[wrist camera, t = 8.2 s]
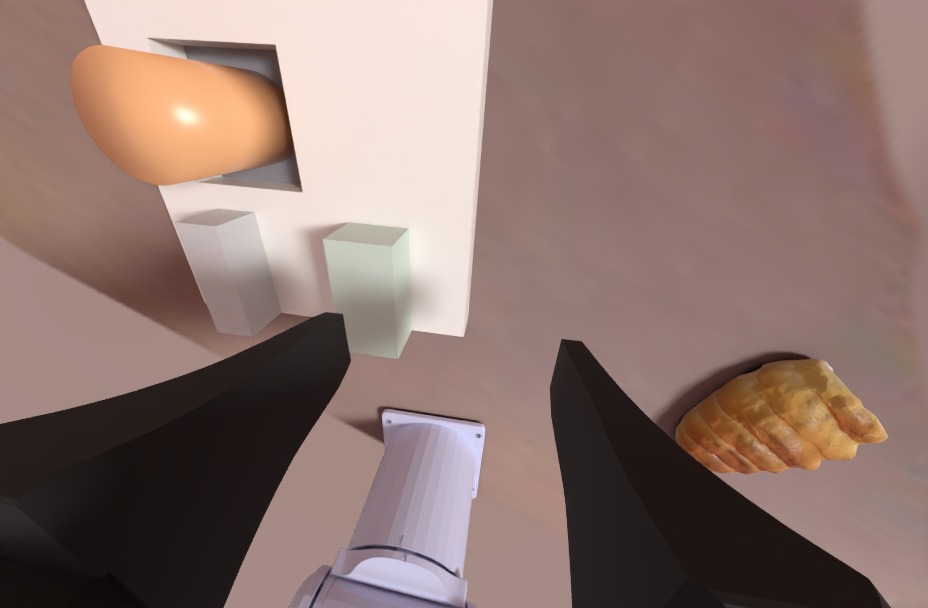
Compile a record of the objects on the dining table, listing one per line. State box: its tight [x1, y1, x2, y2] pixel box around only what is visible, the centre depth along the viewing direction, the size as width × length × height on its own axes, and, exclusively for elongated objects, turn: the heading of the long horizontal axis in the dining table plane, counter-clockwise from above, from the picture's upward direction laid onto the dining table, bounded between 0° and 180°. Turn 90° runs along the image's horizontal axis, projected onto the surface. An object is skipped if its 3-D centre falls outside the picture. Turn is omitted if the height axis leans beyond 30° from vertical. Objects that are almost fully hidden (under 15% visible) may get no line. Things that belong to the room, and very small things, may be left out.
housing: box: [85, 0, 493, 337], centre depth 15 cm, size 15×16×4 cm
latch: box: [323, 223, 411, 359], centre depth 16 cm, size 6×3×2 cm, turn 177°
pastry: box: [675, 359, 888, 474], centre depth 19 cm, size 9×7×4 cm
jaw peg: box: [70, 45, 294, 186], centre depth 13 cm, size 4×4×6 cm
